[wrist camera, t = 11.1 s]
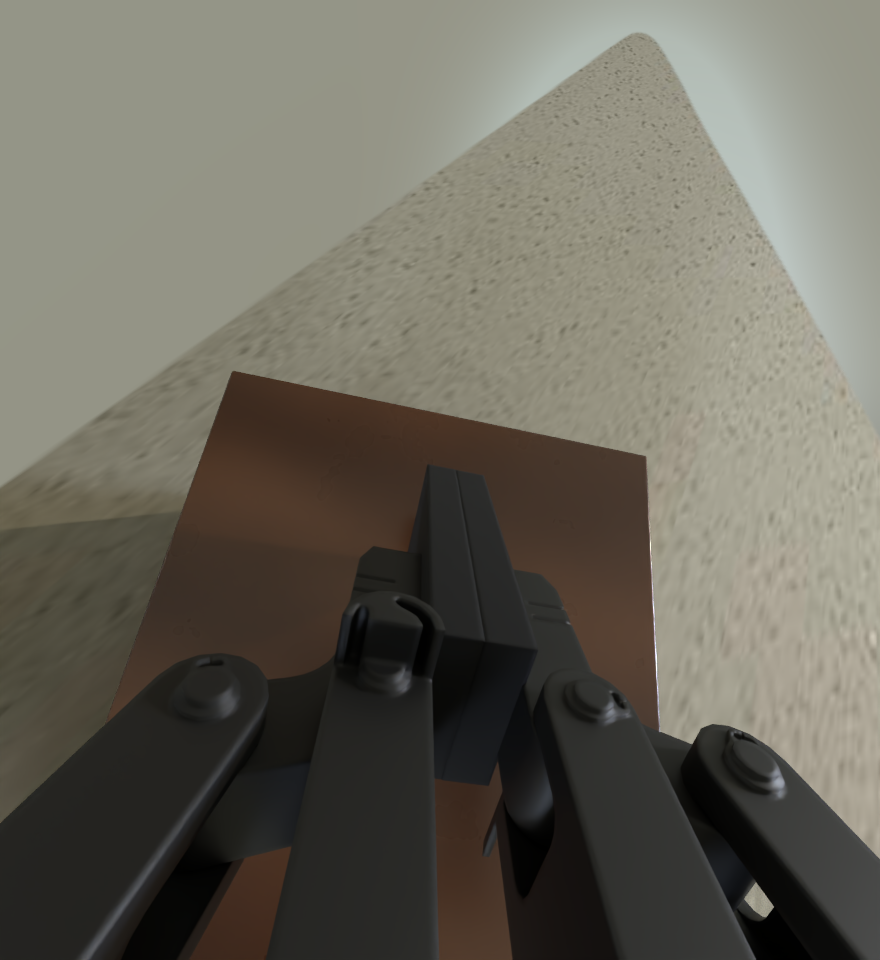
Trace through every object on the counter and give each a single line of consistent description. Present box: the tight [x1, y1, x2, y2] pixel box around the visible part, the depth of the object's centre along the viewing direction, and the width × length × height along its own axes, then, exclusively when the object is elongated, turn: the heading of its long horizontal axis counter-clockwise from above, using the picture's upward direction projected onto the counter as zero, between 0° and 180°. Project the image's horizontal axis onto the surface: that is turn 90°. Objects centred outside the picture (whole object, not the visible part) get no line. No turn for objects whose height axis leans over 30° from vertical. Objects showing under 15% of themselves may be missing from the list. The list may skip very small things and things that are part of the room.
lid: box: [105, 371, 660, 960], centre depth 13 cm, size 16×14×1 cm
